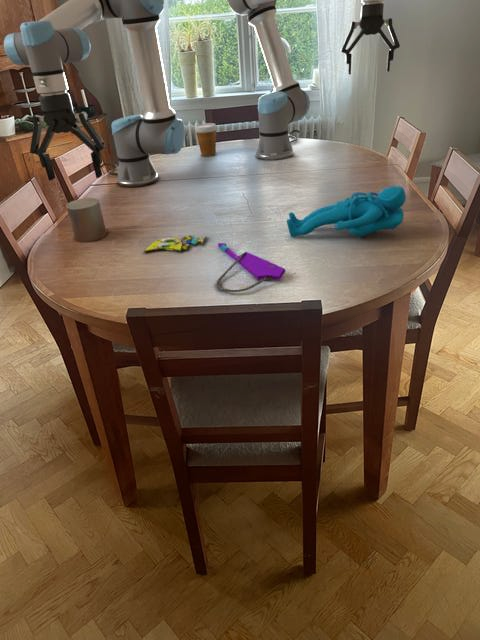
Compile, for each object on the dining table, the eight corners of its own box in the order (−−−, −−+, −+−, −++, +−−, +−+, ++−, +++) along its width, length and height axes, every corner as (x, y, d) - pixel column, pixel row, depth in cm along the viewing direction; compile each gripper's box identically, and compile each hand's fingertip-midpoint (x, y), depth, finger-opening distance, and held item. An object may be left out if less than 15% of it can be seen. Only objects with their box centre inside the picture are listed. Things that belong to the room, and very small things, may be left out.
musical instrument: (259, 304, 102) (301, 255, 114) (257, 296, 101) (299, 248, 113) (174, 288, 115) (219, 245, 127) (171, 280, 114) (217, 238, 126)
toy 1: (199, 248, 125) (143, 249, 127) (199, 251, 125) (144, 252, 127) (206, 233, 133) (154, 234, 135) (206, 236, 133) (154, 237, 136)
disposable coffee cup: (194, 156, 208) (190, 127, 202) (203, 151, 216) (200, 122, 209) (213, 157, 205) (210, 127, 199) (222, 151, 212) (220, 122, 206)
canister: (92, 243, 136) (83, 210, 131) (68, 239, 140) (59, 207, 134) (113, 231, 142) (105, 199, 137) (89, 228, 146) (81, 196, 141)
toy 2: (290, 200, 134) (401, 173, 124) (299, 235, 139) (407, 211, 129) (281, 224, 121) (406, 195, 110) (292, 261, 126) (412, 237, 116)
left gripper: (-1, 99, 119) (26, 184, 130) (96, 92, 116) (115, 179, 127) (14, 94, 125) (38, 176, 136) (106, 87, 122) (123, 171, 133)
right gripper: (335, 6, 162) (334, 76, 174) (412, -1, 159) (405, 71, 170) (334, 6, 169) (333, 74, 180) (408, -1, 165) (402, 68, 177)
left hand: (75, 177), depth 132 cm, fingers open, 13 cm apart
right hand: (368, 72), depth 175 cm, fingers open, 13 cm apart
